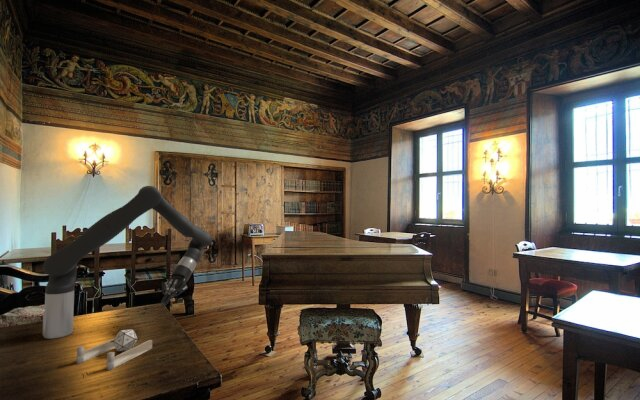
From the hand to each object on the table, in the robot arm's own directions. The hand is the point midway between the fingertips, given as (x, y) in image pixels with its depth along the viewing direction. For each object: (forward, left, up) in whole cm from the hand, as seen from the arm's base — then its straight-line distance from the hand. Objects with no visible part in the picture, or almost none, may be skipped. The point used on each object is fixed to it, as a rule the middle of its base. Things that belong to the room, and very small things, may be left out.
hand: (163, 303), depth 135 cm
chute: (0, -21, -12) cm, 24 cm away
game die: (0, -18, -12) cm, 22 cm away
